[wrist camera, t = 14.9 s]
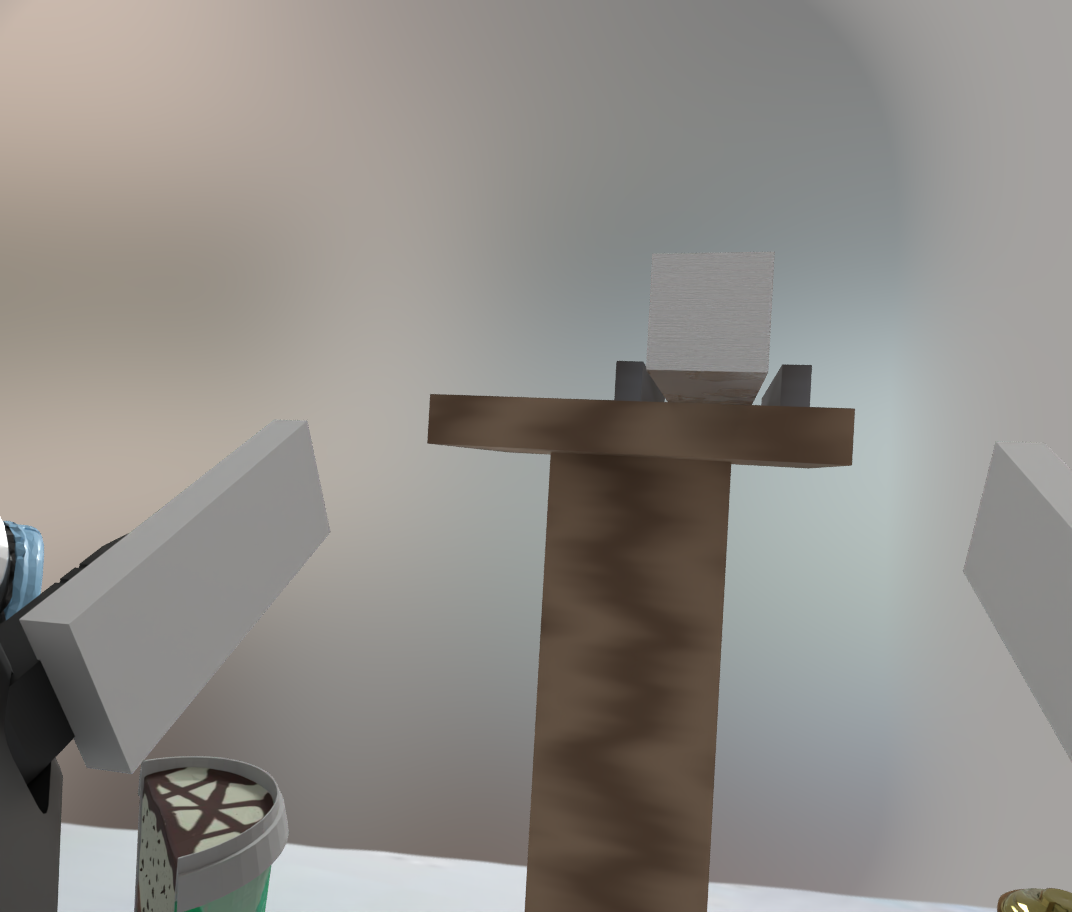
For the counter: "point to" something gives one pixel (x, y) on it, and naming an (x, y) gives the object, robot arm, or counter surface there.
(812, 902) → the counter surface
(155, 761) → the food container
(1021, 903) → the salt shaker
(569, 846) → the walnut shelf
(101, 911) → the counter surface
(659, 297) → the steel bar
